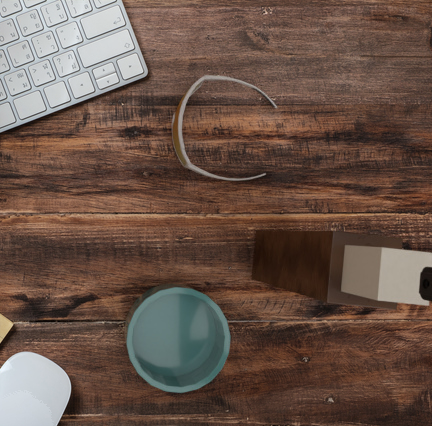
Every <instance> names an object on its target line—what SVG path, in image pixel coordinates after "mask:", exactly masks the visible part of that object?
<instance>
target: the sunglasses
mask: <svg viewBox="0 0 432 426" xmlns="http://www.w3.org/2000/svg"><path fill="white" fill-rule="evenodd" d="M205 81H207V82H213V81H215V82H217V81H227V82H229V81H230V82H235V83H237V84H240V85H243V86H245V87H248V88H250V89H251V90H254V91H255V92H257V93H258V94H259V95H261V96H262V97H263V98H264V99H265V100H266V101H267V102H268V104H270V105H271V107H272V108H273V109H278V106H277V104H275V102H274V101H273V100H272V99H271V98H270V97H269V95H268V94H266V93H265V92H264V91H263V90H261V89H260V88H259V87H258V86H255V85H253V84H251V83H248V82H246V81H244V80H241V79H238V78H233V77H229V76H225V75H212V74H211V75H210V74H204V75H203V76H201V77H200V78H198V79H197V80H196V81H195V82H194V83H193V84H192V85H191V86H190V87H189V89H187V91H186V92H185V93H184V95H183V96H182V97H181V99H180V100H179V103H178V105H177V106H176V110H175V112H174V113H173V115H172V119H171V137H172V144H173V148H174V151H175V154H176V156H177V159H178V160H179V162H180V164H181V166H182V167H183V168H185V169H189V170H190V171H192V172H194V173H197V174H199V175H201V176H205V177H209V178H212V179H217V180H223V181H232V182H242V181H250V180H253V179H257V178H258V179H259V178H261V177H263V176H266V175H267V173H266V172H265V173H260V174H257V175H253V176H249V177H242V178H241V177H240V178H235V177H234V178H233V177H224V176H221V175H217V174H213V173H211V172H208V171H206V170H204V169H202V168H200V167H198V166H196V165H194V164H193V163H192V162H191V160H190V159H189V156H188V154H187V152H186V149H185V148H186V147H185V143H184V137H183V118H184V113H185V109H186V107H187V103H188V100H189V98H190V97H191V96H192V95H193V94H194V93H195V92H196V91H198V90H199V89H200V88H201V87H202V85H203V83H204V82H205Z"/></svg>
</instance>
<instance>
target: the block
mask: <svg viewBox="0 0 432 426" xmlns="http://www.w3.org/2000/svg"><path fill="white" fill-rule="evenodd" d="M424 267H432V252H430V251H419V250H411V249H403V248H402V249H393V248H384V247H369V246H352V245H345V250H344V262H343V273H342V284H341V291H342V292H346V293H350V294H354V295H358V296H362V297H366V298H370V299H374V300H378V301H388V302H397V304H408V305H417V306H425V307H426V306H428V307H429V306H430V301H427V300H423V299H422V298H421V296H420V294H419V284H420V272H422V270H423V268H424Z"/></svg>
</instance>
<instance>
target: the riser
mask: <svg viewBox="0 0 432 426" xmlns="http://www.w3.org/2000/svg"><path fill="white" fill-rule="evenodd" d="M403 240H404V239H403V238H402V237H394V236H393V237H392V236H385V235H384V236H383V235H375V234H365V233H357V232H347V231H339V230H266V229H265V230H260V229H258V230H256V231H255V238H254V250H253V259H252V268H251V269H252V271H251V280H252V281H256V282H259V283H262V284H266V285H269V286H273V287H275V288H278V289H281V290H285V291H289V292H291V293H294V294H298V295H301V296H304V297H308V298H311V299H314V300H317V301H320V302H323V303H326V304H332V305H333V304H334V305H344V306H352V307H353V306H355V307H363V308H373V309H374V308H375V309H381V310H382V309H383V310H392V311H393V310H394V311H397V310H398V303H397V302H388V301H378V300H374V299H370V298H366V297H362V296H358V295H354V294H350V293H346V292H342V291H341V284H342V273H343V262H344V250H345V245H352V246H369V247H384V248H393V249H402V250H403Z"/></svg>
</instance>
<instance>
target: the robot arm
mask: <svg viewBox="0 0 432 426" xmlns="http://www.w3.org/2000/svg"><path fill="white" fill-rule="evenodd" d="M419 294H420V296H421V298H422V299H423V300H427V301H429V302H431V303H432V267H424V268H423V270H422V272H420V284H419Z"/></svg>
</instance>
